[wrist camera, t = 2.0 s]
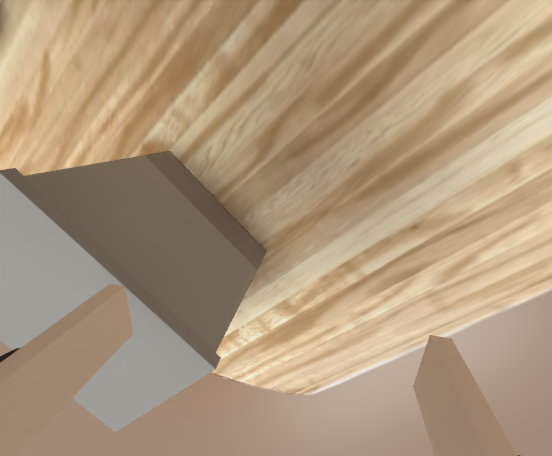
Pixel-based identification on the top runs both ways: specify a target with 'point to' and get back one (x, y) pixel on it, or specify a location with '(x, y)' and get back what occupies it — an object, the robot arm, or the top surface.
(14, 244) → the cabinet
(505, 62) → the top surface
